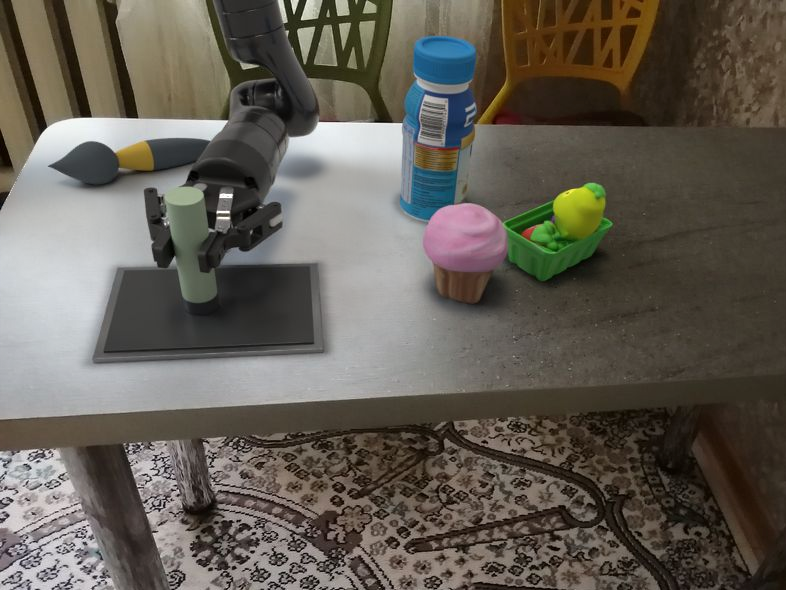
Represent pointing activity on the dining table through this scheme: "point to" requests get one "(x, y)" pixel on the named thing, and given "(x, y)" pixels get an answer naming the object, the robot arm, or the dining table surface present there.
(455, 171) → the beverage bottle
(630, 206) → the dining table surface
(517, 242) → the fruit basket
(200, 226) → the mint green cylinder
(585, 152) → the dining table surface
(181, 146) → the paintbrush
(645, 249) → the dining table surface
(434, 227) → the cupcake
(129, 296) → the tablet
